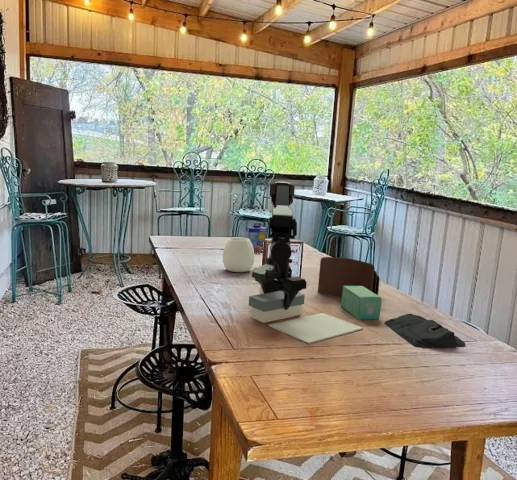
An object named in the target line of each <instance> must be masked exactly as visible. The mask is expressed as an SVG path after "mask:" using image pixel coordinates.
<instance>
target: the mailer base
mask: <svg viewBox="0 0 517 480" xmlns="http://www.w3.org/2000/svg"><path fill="white" fill-rule="evenodd" d="M250 307H251V306H250ZM301 311H302V305H297V306H292V307H289V308H288V310H285V309H284V308H282V309H277V310H272V311H267V312H263V311H261V310H258V309H256V308H254V307H251V311H250V317H251V319H255V320H257V321H259V322H262V323H263V324H264V323H268V322H273V321H278V320H279V321H280V320H282V319H287V318H293V317H296V316H300V315H301V313H302V312H301Z"/></svg>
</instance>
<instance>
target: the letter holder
mask: <svg viewBox="0 0 517 480" xmlns="http://www.w3.org/2000/svg"><path fill="white" fill-rule="evenodd" d="M319 263H320V264H319V273H318V274H319V275H318V287H317V293H318V294H319V293H320V294H324V295H325V294H326V295H329V296H335V297H340V298H342V293H343V286H363V287H365V288H367V289H368V290H370V291H371V292H373V293H375V294H376V295H378V296H379V289H380V281H381V280H380V276H379V275H378V272H377V270H375V266H374V265H373V264H372V263H369V262H367V261H366V262H365V261H363V260H358V259H353V258H348V257H347V258H346V257H337V256H335V257H333V256H331V257H330V256H325V257H321V258H320V262H319Z"/></svg>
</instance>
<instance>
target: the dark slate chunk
mask: <svg viewBox="0 0 517 480" xmlns="http://www.w3.org/2000/svg"><path fill="white" fill-rule="evenodd" d="M383 324H384V325H385V326H386V327H387V328H389V329H390V330H392V331H393V332H394V333H395V334H397V335H398V336H400V337H401V338H402V339H403V340H405V341H406V342H407V343H408V344H410V345H411V346H413V347H415V348H421V349H424V350H425V349H440V350H441V349H444V350H445V349H454V348H458V347H459V348H460V347H464V346H466V343H465V341H463V340H462V339H461V338H459V336H456V335H455V331H451V330H449V329H448V328H446V327H444V326H443V325H441V324H440V323H438V322H437V321H436V320H434V319H427V318H425V317H423V316H421V315H417V314H413V313H406V314H402V315H400V316H397V317H396V318H395V317H394V318H390V319H388V320H386V321H384V323H383Z"/></svg>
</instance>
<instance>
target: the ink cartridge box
mask: <svg viewBox="0 0 517 480" xmlns="http://www.w3.org/2000/svg"><path fill="white" fill-rule="evenodd" d="M267 230H268V228H267V227H264V226H262V223H254V224H253V226H246V227H245V238H247V239H250V241H251V243H252V245H253V248H254V251H262V250H263V242H264V240H265V239H266V240H267V233H268V232H267Z"/></svg>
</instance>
